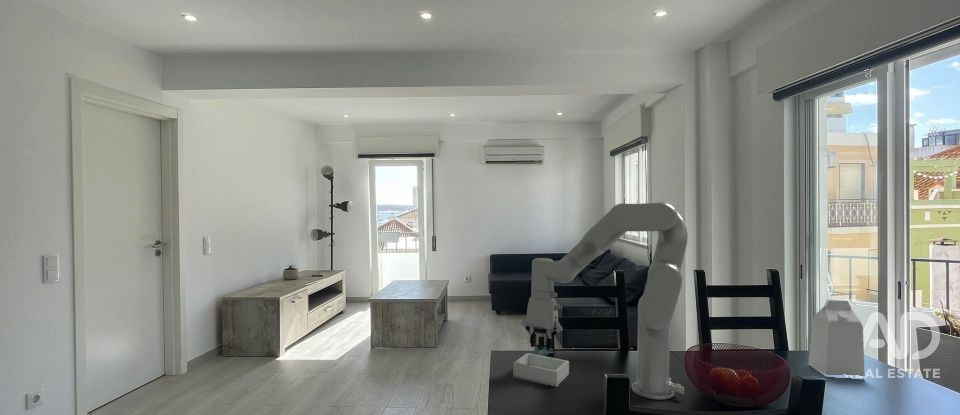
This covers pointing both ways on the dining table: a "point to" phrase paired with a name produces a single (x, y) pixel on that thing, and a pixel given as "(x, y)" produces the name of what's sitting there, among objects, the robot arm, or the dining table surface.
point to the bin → (541, 369)
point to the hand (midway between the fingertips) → (541, 347)
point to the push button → (540, 342)
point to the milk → (837, 340)
